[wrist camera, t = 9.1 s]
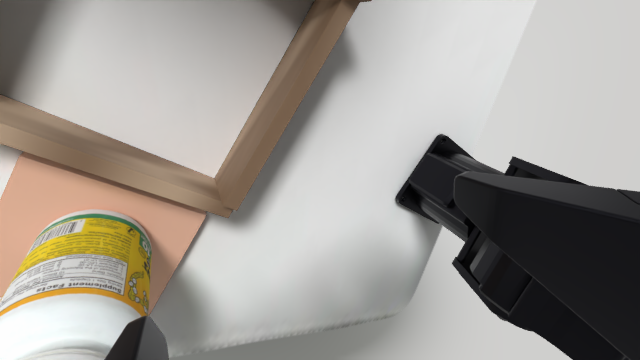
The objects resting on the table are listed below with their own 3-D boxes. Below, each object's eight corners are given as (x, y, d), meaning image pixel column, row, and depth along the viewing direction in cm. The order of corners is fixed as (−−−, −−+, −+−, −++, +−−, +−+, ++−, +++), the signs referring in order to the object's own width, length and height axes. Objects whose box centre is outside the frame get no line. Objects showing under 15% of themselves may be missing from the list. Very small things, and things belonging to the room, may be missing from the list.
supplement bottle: (51, 194, 16) (-64, 370, 8) (165, 218, 18) (167, 364, 11) (23, 281, 17) (-102, 512, 9) (135, 291, 20) (116, 472, 12)
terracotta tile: (205, 210, 20) (206, 215, 19) (149, 308, 21) (149, 315, 21) (24, 151, 15) (19, 155, 14) (-35, 283, 16) (-41, 292, 16)
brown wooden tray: (335, -9, 18) (381, -16, 14) (220, 193, 20) (232, 233, 16) (29, -302, 10) (-47, -486, 6) (-103, 75, 12) (-216, 98, 9)
